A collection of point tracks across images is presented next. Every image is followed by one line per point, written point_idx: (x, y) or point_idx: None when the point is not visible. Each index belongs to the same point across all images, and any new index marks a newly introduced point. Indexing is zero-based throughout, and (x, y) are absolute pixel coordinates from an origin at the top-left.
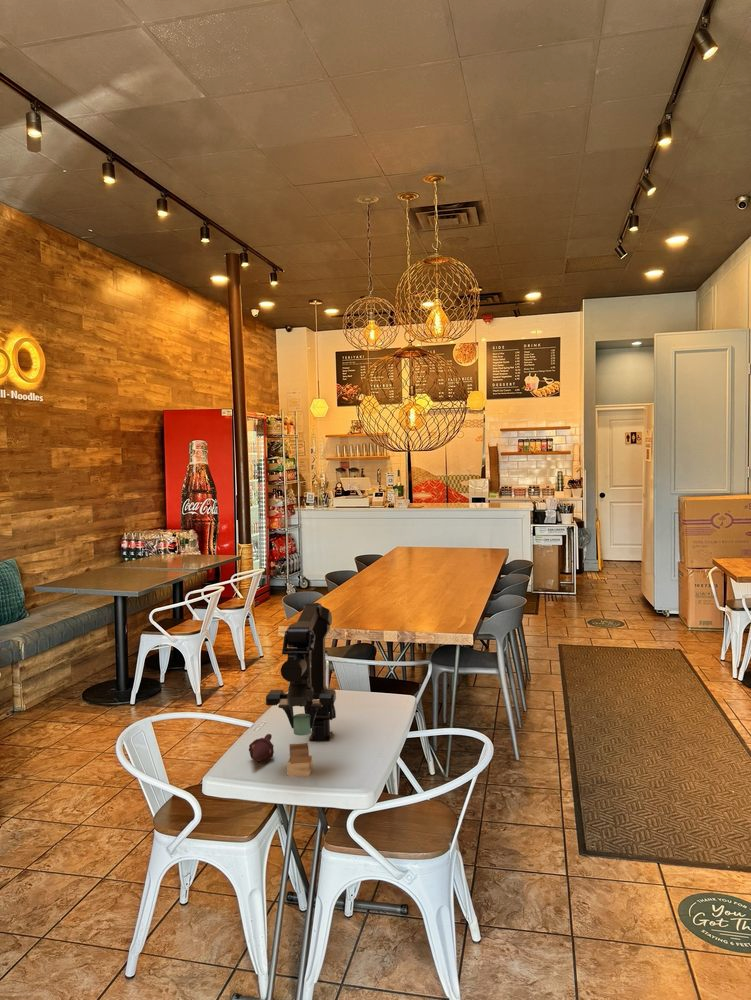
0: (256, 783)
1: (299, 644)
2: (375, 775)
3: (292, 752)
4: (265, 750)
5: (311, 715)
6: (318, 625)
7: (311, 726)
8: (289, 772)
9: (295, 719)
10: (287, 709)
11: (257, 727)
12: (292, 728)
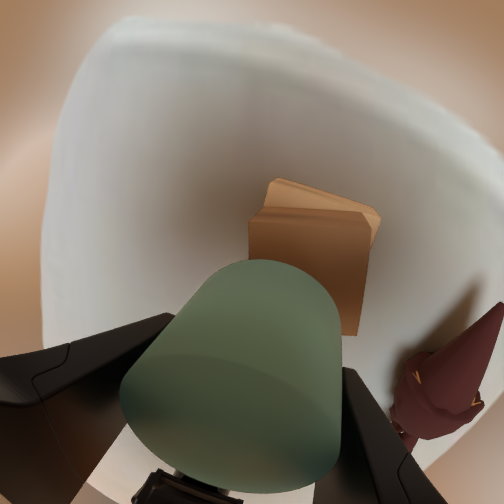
0: (489, 174)
1: None
2: (64, 138)
3: (356, 225)
4: (445, 366)
5: (79, 369)
6: None
7: (161, 318)
8: (364, 206)
9: (321, 399)
10: None
11: None
12: (349, 368)
